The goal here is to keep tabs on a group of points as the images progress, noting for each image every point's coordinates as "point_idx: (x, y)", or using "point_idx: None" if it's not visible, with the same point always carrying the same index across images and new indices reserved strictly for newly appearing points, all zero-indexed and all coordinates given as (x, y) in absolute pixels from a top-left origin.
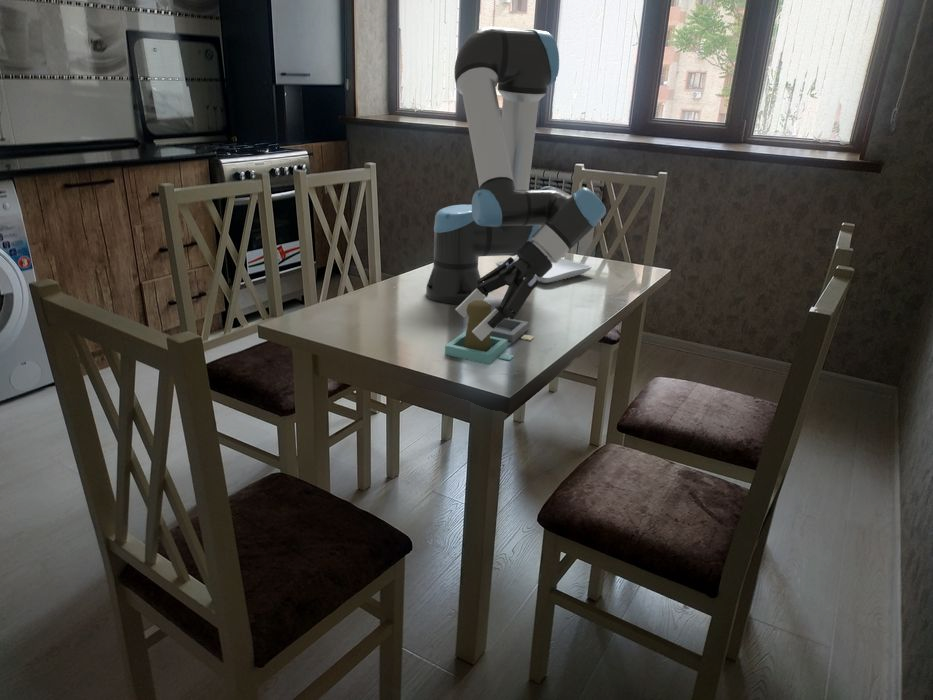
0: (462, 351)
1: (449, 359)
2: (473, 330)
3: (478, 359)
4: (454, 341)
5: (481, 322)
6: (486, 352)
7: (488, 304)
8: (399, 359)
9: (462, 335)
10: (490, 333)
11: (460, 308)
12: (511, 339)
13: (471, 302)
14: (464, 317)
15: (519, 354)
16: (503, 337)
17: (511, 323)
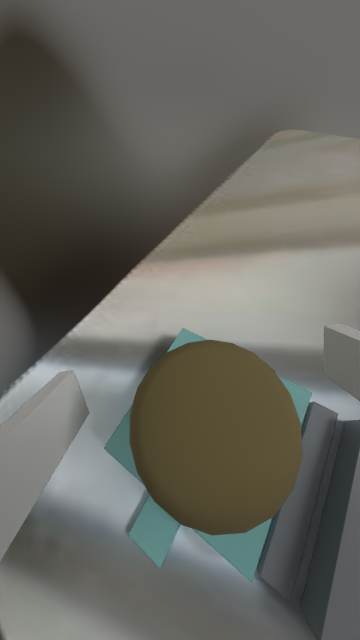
0: None
1: (157, 345)
2: (63, 374)
3: None
4: None
5: (33, 406)
6: (125, 441)
7: (184, 505)
8: (164, 263)
9: None
10: (341, 502)
11: (340, 341)
12: (309, 617)
13: (217, 355)
14: (325, 373)
15: (185, 608)
16: (321, 569)
17: None
